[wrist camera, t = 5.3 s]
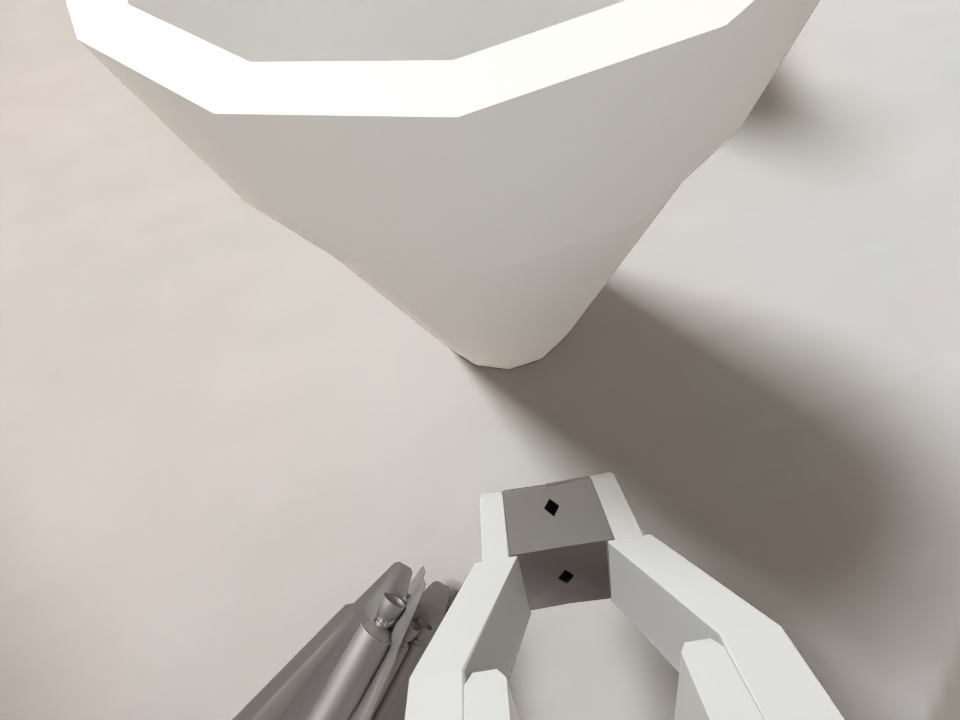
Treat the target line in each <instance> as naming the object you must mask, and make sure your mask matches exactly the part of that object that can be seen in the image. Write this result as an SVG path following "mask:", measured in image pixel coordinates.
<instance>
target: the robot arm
mask: <svg viewBox="0 0 960 720" xmlns="http://www.w3.org/2000/svg"><path fill="white" fill-rule="evenodd" d="M480 518H481V541H482V561H481V562H476V563H475V564H474V566H473V568H472V570H471V571H470V573H469V575H468V577H467V578H466V580H465V582H464V584H463V585H462V587H461V589H460V591H459V592H458V594H457V596H456V598H455V599H454V601H453V603H452V605H451V606H450V608H449V610H448V612H447V613H446V615H445V617H444V619H443V620H442V622H441V624H440V626H439V627H438V629H437V631H436V633H435V634H434V636H433V638H432V640H431V641H430V643H429V645H428V647H427V648H426V650H425V652H424V654H423V655H422V657H421V659H420V661H419V662H418V664H417V666H416V668H415V669H414V671H413V673H412V675H411V676H410V678H409V685H408V694H407V703H406V712H405V720H520V717H519V714H518V711H517V708H516V705H515V702H514V699H513V696H512V693H511V690H510V687H509V684H508V680H509V677H510V674H511V671H512V668H513V665H514V662H515V659H516V656H517V653H518V650H519V647H520V644H521V642H522V639H523V636H524V633H525V630H526V627H527V624H528V621H529V618H530V615H531V611H530V610H535V609H541V608H546V607H552V606H557V605H562V604H568V603H575V602H583V601H592V600H600V599H608V598H611V600H612V601H613V603H614V604H615V605H616V606H617V607H618V608H619V609H620V610H621V611H622V612H623V613H624V614H625V615H626V616H627V618H628V619H629V620H630V621H631V622H632V623H633V624H634V625H635V626H636V627H637V628H638V629H639V630H640V632H641V633H642V634H643V635H644V636H645V637H646V638H647V639H648V640H649V641H650V642H651V643H652V644H653V645H654V647H655V648H656V649H657V650H658V651H659V652H660V653H661V654H662V655H663V656H664V657H665V658H666V659H667V660H668V662H669V663H670V664H671V665H672V666H673V667H674V668H675V669H676V670H677V671H678V672H679V678H678V688H677V698H676V707H675V717H674V720H845V719H844V718H843V717H842V715H841V714H840V712H839V711H838V709H837V708H836V706H835V705H834V703H833V702H832V700H831V699H830V697H829V696H828V695H827V693H826V692H825V690H824V689H823V687H822V686H821V684H820V683H819V681H818V680H817V678H816V677H815V675H814V674H813V673H812V671H811V670H810V668H809V667H808V665H807V664H806V662H805V661H804V659H803V658H802V656H801V655H800V653H799V652H798V651H797V649H796V648H795V646H794V645H793V643H792V642H791V640H790V639H789V637H788V636H787V634H786V633H785V631H784V630H783V629H782V627H781V626H780V625H778V624H777V623H776V622H774V621H773V620H771V619H770V618H768V617H767V616H766V615H764V614H763V613H761V612H760V611H759V610H757V609H756V608H754V607H753V606H752V605H750V604H749V603H747V602H746V601H745V600H743V599H742V598H740V597H739V596H737V595H736V594H735V593H733V592H732V591H730V590H729V589H728V588H726V587H725V586H723V585H722V584H721V583H719V582H718V581H716V580H715V579H714V578H712V577H711V576H709V575H708V574H706V573H705V572H704V571H702V570H701V569H699V568H698V567H697V566H695V565H694V564H692V563H691V562H690V561H688V560H687V559H685V558H684V557H683V556H681V555H680V554H678V553H677V552H676V551H674V550H673V549H671V548H670V547H668V546H667V545H666V544H664V543H663V542H661V541H660V540H659V539H657V538H656V537H654V536H653V535H652V534H650V535H643V533H642V530H641V528H640V526H639V524H638V522H637V520H636V518H635V516H634V514H633V512H632V510H631V508H630V506H629V504H628V502H627V500H626V497H625V495H624V493H623V491H622V489H621V487H620V485H619V483H618V481H617V479H616V477H615V475H614V474H613V473H612V472H609V473H603V474H597V475H592V476H589V477H588V476H585V477H580V478H575V479H569V480H564V481H558V482H553V483H547V484H545V485H538V486H531V487H524V488H517V489H510V490H504V491H499V492H492V493H486V494H481V497H480Z"/></svg>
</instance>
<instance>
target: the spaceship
mask: <svg viewBox="0 0 960 720" xmlns="http://www.w3.org/2000/svg"><path fill="white" fill-rule="evenodd" d="M424 574H425V569H424V566H423V567H422V568H421V569H420V570H419V572H418V573H417V575H416V576H415V578H414V579H413V581H412V582H411V584H410V580H411V576H412V571H411V568H409V567H408V566H406V565H404V564H402V563H400V562H397V563H394V564H393V565H392V566H391V567H390V568H389V569H388V570H387V571H386V572H385V573H384V574H383V575H382V576H381V577H380V578H379V579H378V580H377V581H376V582H375V583H374V584H373V585H372V586H371V587H370V588H369V589H368V590H367V591H366V592H365V593H364V594H363V595H362V596H361V597H360V598H359V599H358V600H357V601H356V602H355V603H352V604H347V605H345V606H344V607H343V608H342V609H341V610H340V611H339V612H338V613H337V614H336V615H335V616H334V617H333V618H332V619H331V620H330V621H329V622H328V623H327V624H326V625H325V626H324V627H323V628H322V629H321V630H320V631H319V632H318V633H317V634H316V635H315V636H314V637H313V638H312V639H311V640H310V641H309V642H308V643H307V644H306V645H305V646H304V647H303V648H302V649H301V650H300V651H299V652H298V653H297V654H296V655H295V656H294V657H293V658H292V659H291V660H290V661H289V662H288V664H287V665H286V666H285V667H284V668H283V669H282V670H281V671H280V672H279V673H278V674H277V675H276V676H275V677H274V678H273V679H272V680H271V681H270V682H269V683H268V684H267V685H266V686H265V687H264V688H263V689H262V690H261V691H260V692H259V693H258V694H257V695H256V696H255V697H254V698H253V699H252V700H251V701H250V702H249V703H248V704H247V705H246V706H245V707H244V708H243V709H242V710H241V711H240V712H239V713H238V714H237V715H236V716H235V717H234V718H233V719H232V720H405V712H406V703H407V694H408V685H409V678H410V676H411V675H412V673H413V671H414V669H415V668H416V666H417V664H418V662H419V661H420V659H421V657H422V655H423V654H424V652H425V650H426V648H427V647H428V645H429V643H430V641H431V640H432V638H433V636H434V634H435V633H436V631H437V629H438V627H439V626H440V624H441V622H442V620H443V619H444V617H445V612H446V608H447V603H448V598H449V594H450V590H449V587H448V586H446V585H444V584H442V583H440V582H439V581H436V582H433V583H432V584H431V585H430V586H429V587H428V588H427V589H426V590H425V591H424V589H425V585H426V584H425V582H424V579H423V577H424ZM422 579H423V580H422ZM409 584H410V585H409Z"/></svg>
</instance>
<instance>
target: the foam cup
mask: <svg viewBox="0 0 960 720" xmlns="http://www.w3.org/2000/svg"><path fill="white" fill-rule="evenodd" d="M819 1H820V0H66V3H67V6H68V10H69V13H70V16H71V20H72V23H73V26H74V29H75V33H76V36H77V39H78V40H79V41H80V42H81V43H82V44H83V45H84V46H85V47H86V48H87V49H88V50H89V51H90V52H91V53H92V54H93V55H94V56H95V57H96V58H97V59H98V60H99V61H101V62H102V63H103V64H104V65H105V66H106V67H107V68H108V69H109V70H110V71H111V72H112V73H113V74H114V75H115V76H116V77H117V78H118V79H119V80H120V81H121V82H122V83H123V84H124V85H125V86H126V87H127V88H128V89H129V90H130V91H131V92H133V93H134V94H135V95H136V96H137V97H138V98H139V99H140V100H141V101H142V102H143V103H144V104H145V105H146V106H147V107H148V108H149V109H150V110H151V111H152V112H153V113H154V114H155V115H156V116H157V117H158V118H159V119H160V120H161V121H162V122H163V123H165V124H166V125H167V126H168V127H169V128H170V129H171V130H172V131H173V132H174V133H175V134H176V135H177V136H178V137H179V138H180V139H181V140H182V141H183V142H184V143H185V144H186V145H187V146H188V147H189V148H190V149H191V150H192V151H193V152H194V153H195V154H197V155H198V156H199V157H200V158H201V159H202V160H203V161H204V162H205V163H206V164H207V165H208V166H209V167H210V168H211V169H212V170H213V171H214V172H215V173H216V174H217V175H218V176H219V177H220V178H221V179H222V180H223V181H224V182H225V183H226V184H227V185H229V186H230V187H231V188H232V189H233V190H234V191H235V192H236V193H237V194H238V195H239V196H240V197H241V198H242V199H243V200H244V201H245V202H247V203H248V204H250V205H251V206H253V207H255V208H256V209H258V210H259V211H261V212H263V213H264V214H266V215H268V216H269V217H271V218H272V219H274V220H276V221H277V222H279V223H281V224H282V225H284V226H285V227H287V228H289V229H290V230H292V231H293V232H295V233H297V234H298V235H300V236H302V237H303V238H305V239H306V240H308V241H310V242H311V243H313V244H314V245H316V246H318V247H319V248H321V249H323V250H324V251H326V252H327V253H329V254H331V255H332V256H334V257H335V258H336V259H338V260H339V261H340V262H341V263H343V264H344V265H345V266H346V267H348V268H349V269H350V270H351V271H353V272H354V273H355V274H356V275H358V276H359V277H360V278H361V279H363V280H364V281H365V282H366V283H368V284H369V285H370V286H371V287H373V288H374V289H375V290H376V291H378V292H379V293H380V294H381V295H383V296H384V297H385V298H386V299H388V300H389V301H390V302H391V303H393V304H394V305H395V306H396V307H398V308H399V309H400V310H401V311H403V312H404V313H405V314H406V315H408V316H409V317H410V318H411V319H413V320H414V321H415V322H417V323H418V324H419V325H420V326H422V327H423V328H424V329H425V330H427V331H428V332H429V333H430V334H432V335H433V336H434V337H435V338H437V339H438V340H439V341H440V342H442V343H443V344H444V345H446V346H447V347H449V348H450V349H451V350H453V351H454V352H456V353H458V354H459V355H461V356H462V357H464V358H466V359H467V360H469V361H470V362H472V363H473V364H475V365H478V366H487V367H495V368H504V369H512V368H515V367H518V366H521V365H524V364H527V363H530V362H533V361H536V360H539V359H542V358H543V357H544V356H545V355H546V354H547V353H548V352H549V351H550V350H551V349H553V348H554V347H555V346H556V345H557V344H558V343H559V342H560V341H561V340H562V339H563V338H564V337H565V336H566V335H567V334H568V333H569V332H570V330H571V329H572V328H573V326H574V325H575V324H576V322H577V321H578V320H579V318H580V317H581V316H582V314H583V313H584V312H585V310H586V309H587V308H588V307H589V305H590V304H591V303H592V301H593V300H594V299H595V297H596V296H597V295H598V293H599V292H600V291H601V289H602V288H603V287H604V285H605V284H606V283H607V281H608V280H609V279H610V277H611V276H612V275H613V273H614V272H615V271H616V269H617V268H618V267H619V265H620V264H621V263H622V261H623V260H624V259H625V257H626V256H627V255H628V253H629V252H630V251H631V249H632V248H633V247H634V245H635V244H636V243H637V242H638V240H639V239H640V238H641V236H642V235H643V234H644V232H645V231H646V230H647V228H648V227H649V226H650V224H651V223H652V222H653V220H654V219H655V218H656V216H657V215H658V214H659V212H660V211H661V210H662V208H663V207H664V206H665V204H666V203H667V202H668V200H669V199H670V198H671V196H672V195H673V194H674V192H675V191H676V190H677V188H678V187H679V186H680V184H681V183H682V182H683V181H684V180H685V179H686V178H687V177H688V176H689V175H690V174H692V173H693V172H694V171H695V170H696V169H697V168H698V167H699V166H700V165H701V164H702V163H703V162H704V161H706V160H707V159H708V158H709V157H710V156H711V155H712V154H713V153H714V152H715V151H716V150H717V149H719V148H720V147H721V146H722V145H723V144H724V143H725V142H726V141H727V140H728V139H729V138H730V137H732V136H733V135H734V134H735V133H736V132H737V131H738V130H739V129H740V128H741V127H742V125H743V124H744V122H745V120H746V119H747V117H748V115H749V114H750V112H751V111H752V109H753V107H754V106H755V104H756V103H757V101H758V99H759V98H760V96H761V95H762V93H763V91H764V90H765V88H766V87H767V85H768V83H769V82H770V80H771V78H772V77H773V75H774V74H775V72H776V70H777V69H778V67H779V66H780V64H781V62H782V61H783V59H784V58H785V56H786V54H787V53H788V51H789V49H790V48H791V46H792V45H793V43H794V41H795V40H796V38H797V37H798V35H799V33H800V32H801V30H802V29H803V27H804V25H805V24H806V22H807V21H808V19H809V17H810V16H811V14H812V12H813V11H814V9H815V8H816V6H817V4H818V3H819Z"/></svg>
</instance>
